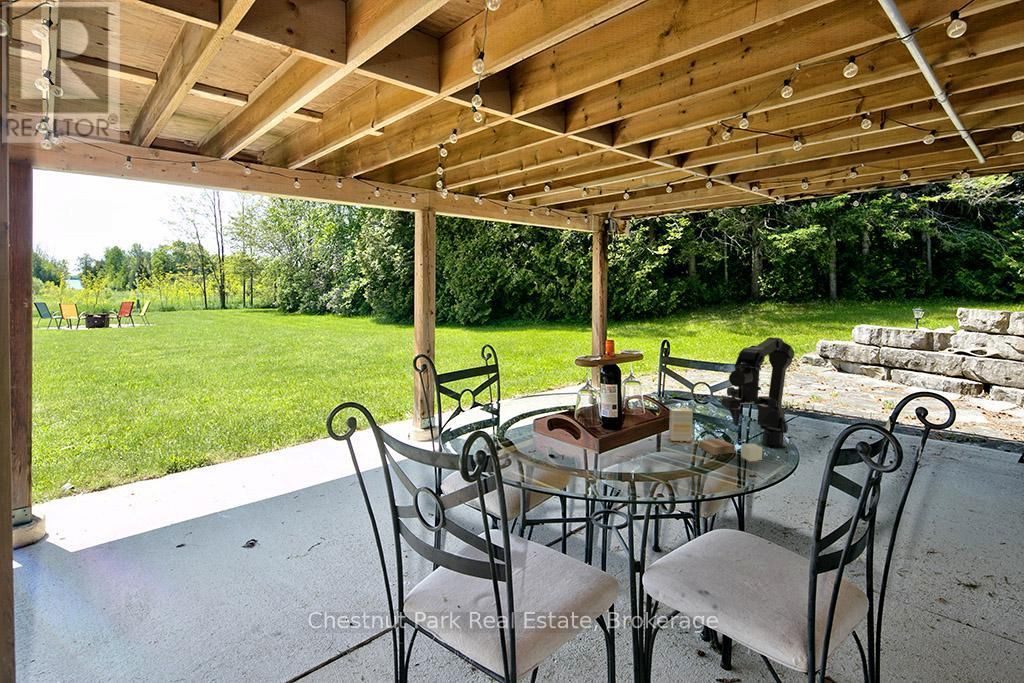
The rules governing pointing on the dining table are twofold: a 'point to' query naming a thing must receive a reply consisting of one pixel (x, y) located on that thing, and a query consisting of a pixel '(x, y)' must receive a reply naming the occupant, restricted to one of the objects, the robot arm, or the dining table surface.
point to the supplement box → (680, 424)
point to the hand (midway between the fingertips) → (747, 425)
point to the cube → (751, 452)
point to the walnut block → (716, 446)
